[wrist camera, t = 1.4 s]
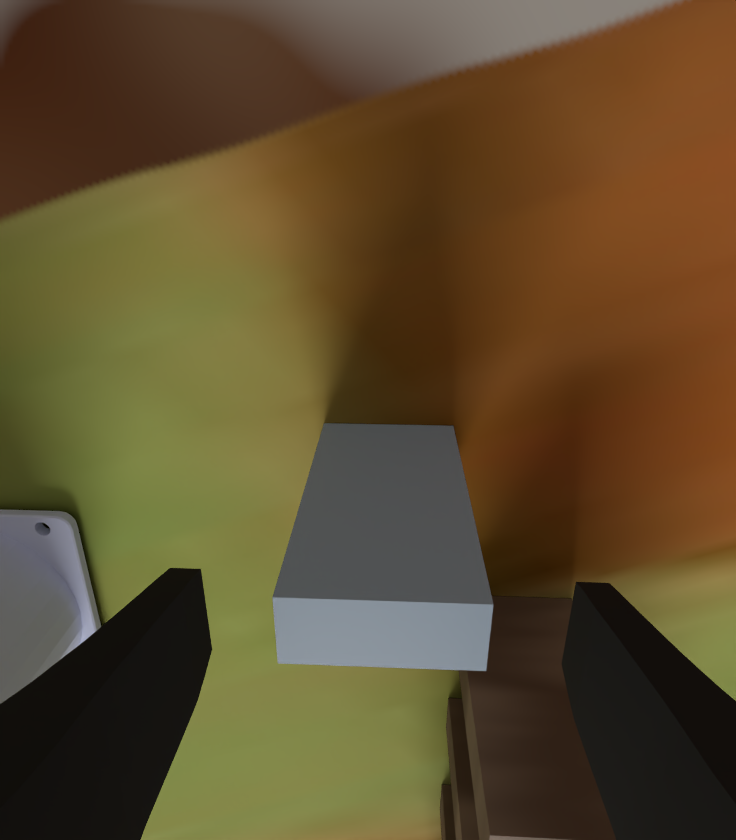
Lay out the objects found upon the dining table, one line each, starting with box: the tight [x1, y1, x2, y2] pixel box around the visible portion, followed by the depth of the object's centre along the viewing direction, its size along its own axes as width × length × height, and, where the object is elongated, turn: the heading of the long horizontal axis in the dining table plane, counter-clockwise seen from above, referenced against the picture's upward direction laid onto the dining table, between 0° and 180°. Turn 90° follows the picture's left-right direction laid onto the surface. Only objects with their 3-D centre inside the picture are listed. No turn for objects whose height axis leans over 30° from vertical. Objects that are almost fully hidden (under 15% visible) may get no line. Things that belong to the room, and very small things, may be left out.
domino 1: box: [273, 423, 493, 671], centre depth 14 cm, size 4×2×8 cm, turn 90°
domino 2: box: [446, 698, 479, 840], centre depth 19 cm, size 4×2×8 cm, turn 90°
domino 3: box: [459, 596, 616, 840], centre depth 17 cm, size 4×2×8 cm, turn 90°
